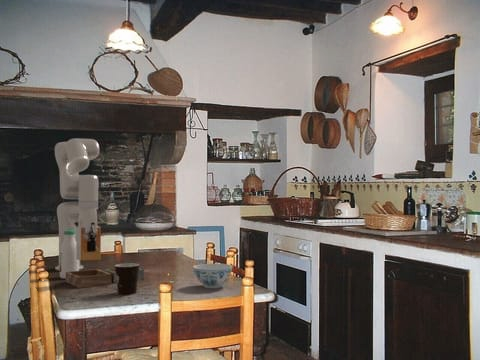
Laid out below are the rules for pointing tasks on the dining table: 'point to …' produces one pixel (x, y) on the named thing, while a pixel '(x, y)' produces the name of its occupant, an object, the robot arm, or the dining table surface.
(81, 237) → the small box
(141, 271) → the frame
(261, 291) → the dining table surface
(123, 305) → the dining table surface
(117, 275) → the coffee mug
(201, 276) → the chinaware
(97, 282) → the walnut trough
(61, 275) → the milk bottle
